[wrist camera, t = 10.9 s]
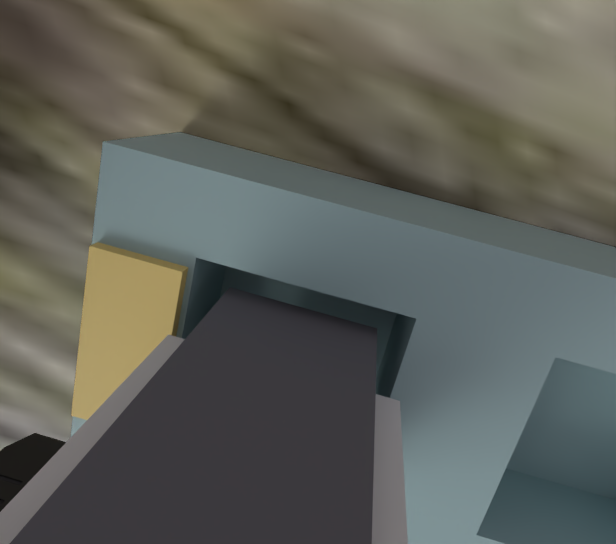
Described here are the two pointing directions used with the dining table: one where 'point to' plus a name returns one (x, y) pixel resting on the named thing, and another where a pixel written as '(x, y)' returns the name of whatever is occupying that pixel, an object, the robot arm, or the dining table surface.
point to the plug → (234, 439)
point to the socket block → (380, 322)
